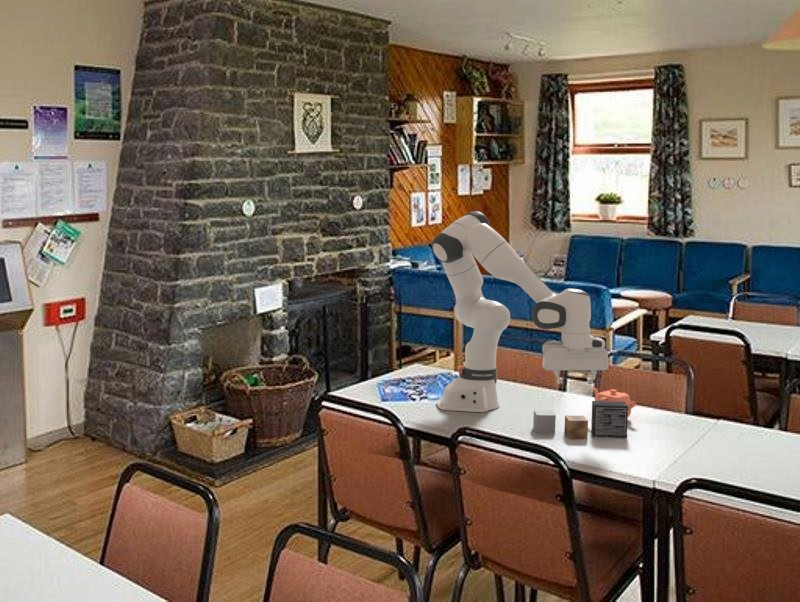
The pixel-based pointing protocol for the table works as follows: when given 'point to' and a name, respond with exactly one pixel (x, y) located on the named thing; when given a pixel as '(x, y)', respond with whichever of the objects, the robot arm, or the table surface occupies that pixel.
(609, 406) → the small box
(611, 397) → the teapot
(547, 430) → the slate cube
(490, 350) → the robot arm
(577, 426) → the walnut cube
